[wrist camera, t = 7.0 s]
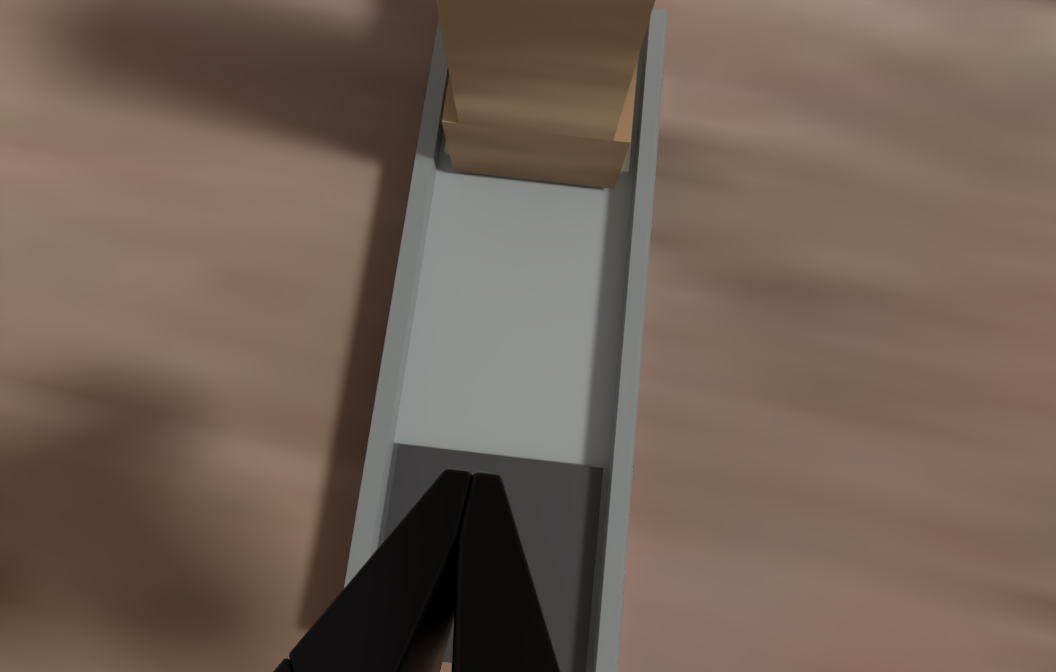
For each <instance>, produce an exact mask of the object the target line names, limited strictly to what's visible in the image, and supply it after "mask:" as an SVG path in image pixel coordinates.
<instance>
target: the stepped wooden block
mask: <svg viewBox="0 0 1056 672" xmlns="http://www.w3.org/2000/svg"><path fill="white" fill-rule="evenodd" d="M435 1H436V6H437V12H438V17H439V22H440V27H441V33H442V38H443V43H444V48H445V54H446V59H447V64H448V69H449V79H448V85H447V92H446V98H445V104H444V111H443V117H442V125H443V129H444V133H445V137H446V142H447V146H448V150H449V154H450V158H451V162H452V166H453V171H458V172H467V173H476V174H485V175H494V176H503V177H512V178H521V179H530V180H539V181H548V182H557V183H566V184H575V185H584V186H593V187H602V188H611V189H614V188H615V185H616V182H617V179H618V177H619V174H620V171H621V168H622V165H623V163H624V160H625V157H626V154H627V151H628V149H629V146H630V143H631V132H632V121H633V109H634V98H635V86H636V74H637V63H638V56H639V53H640V50H641V46H642V43H643V40H644V36H645V33H646V30H647V26H648V23H649V19H650V16H651V13H652V9H653V6H654V3H655V0H435Z"/></svg>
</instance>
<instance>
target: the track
mask: <svg viewBox="0 0 1056 672" xmlns="http://www.w3.org/2000/svg"><path fill="white" fill-rule="evenodd" d="M667 14H668V10H660V9H652V13H651V16H650V19H649V23H648V26H647V30H646V33H645V36H644V40H643V43H642V46H641V50H640V53H639V56H638V63H637V74H636V86H635V98H634V109H633V121H632V132H631V143H630V146H629V149H628V151H627V154H626V157H625V160H624V163H623V165H622V168H621V171H620V174H619V177H618V179H617V182H616V185H615V188H614V189H611V188H602V187H593V186H584V185H575V184H566V183H557V182H548V181H539V180H530V179H521V178H512V177H503V176H494V175H485V174H476V173H467V172H458V171H453V166H452V162H451V158H450V154H449V150H448V146H447V142H446V137H445V133H444V129H443V125H442V117H443V111H444V104H445V98H446V92H447V85H448V79H449V69H448V64H447V59H446V54H445V48H444V43H443V38H442V33H441V27H440V22H439V17H438V23H437V29H436V35H435V41H434V47H433V53H432V59H431V65H430V71H429V77H428V83H427V89H426V95H425V101H424V107H423V113H422V119H421V125H420V132H419V138H418V144H417V150H416V156H415V162H414V168H413V174H412V180H411V186H410V192H409V198H408V204H407V210H406V216H405V222H404V228H403V234H402V240H401V246H400V252H399V258H398V264H397V270H396V276H395V283H394V289H393V295H392V301H391V307H390V313H389V319H388V325H387V331H386V337H385V343H384V349H383V355H382V361H381V367H380V373H379V379H378V385H377V391H376V397H375V403H374V409H373V415H372V421H371V427H370V434H369V440H368V446H367V452H366V458H365V464H364V470H363V476H362V482H361V488H360V494H359V500H358V506H357V512H356V518H355V524H354V530H353V536H352V542H351V548H350V554H349V560H348V566H347V572H346V578H345V585H344V588H345V587H346V586H347V584H348V583H349V582H350V581H351V580H352V578H353V577H354V576H355V575H356V574H357V573H358V571H359V570H360V569H361V568H362V567H363V565H364V564H365V563H366V562H367V561H368V560H369V558H370V557H371V556H372V555H373V554H374V552H375V551H376V550H377V549H378V548H379V546H380V545H381V544H382V543H383V542H384V541H385V539H386V538H387V537H388V536H389V535H390V533H391V532H392V531H393V530H394V529H395V528H396V526H397V525H398V524H399V523H400V522H401V520H402V519H403V518H404V517H405V516H406V515H407V513H408V512H409V511H410V510H411V509H412V507H413V506H414V505H415V504H416V503H417V502H418V500H419V499H420V498H421V497H422V496H423V494H424V493H425V492H426V491H427V490H428V488H429V487H430V486H431V485H432V484H433V483H434V481H435V480H436V479H437V478H438V477H439V475H440V474H441V473H442V472H443V471H444V470H445V469H447V468H455V469H464V470H470V471H471V472H472V473H473V474H474V473H475V472H477V471H481V472H490V473H497V474H499V475H500V476H501V477H502V480H503V483H504V486H505V490H506V493H507V496H508V500H509V503H510V506H511V509H512V513H513V516H514V519H515V523H516V526H517V529H518V533H519V536H520V539H521V542H522V546H523V549H524V552H525V556H526V559H527V562H528V566H529V569H530V572H531V576H532V579H533V582H534V585H535V589H536V592H537V595H538V599H539V602H540V605H541V609H542V612H543V615H544V619H545V622H546V625H547V628H548V632H549V635H550V638H551V642H552V645H553V648H554V652H555V655H556V658H557V661H558V665H559V668H560V671H561V672H617V669H618V656H619V643H620V630H621V617H622V604H623V591H624V578H625V564H626V551H627V538H628V525H629V512H630V499H631V486H632V473H633V460H634V447H635V433H636V420H637V407H638V394H639V381H640V368H641V355H642V342H643V329H644V316H645V303H646V289H647V276H648V263H649V250H650V237H651V224H652V211H653V198H654V185H655V172H656V158H657V145H658V132H659V119H660V106H661V93H662V80H663V67H664V54H665V41H666V28H667ZM453 631H454V621H453V625H452V629H451V633H450V637H449V640H448V644H447V647H446V651H445V655H444V658H443V662H450V663H452V653H453Z"/></svg>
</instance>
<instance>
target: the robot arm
mask: <svg viewBox="0 0 1056 672" xmlns="http://www.w3.org/2000/svg"><path fill="white" fill-rule="evenodd" d="M453 621H454V631H453V653H452V672H561V671H560V668H559V665H558V661H557V658H556V655H555V652H554V648H553V645H552V642H551V638H550V635H549V632H548V628H547V625H546V622H545V619H544V615H543V612H542V609H541V605H540V602H539V599H538V595H537V592H536V589H535V585H534V582H533V579H532V576H531V572H530V569H529V566H528V562H527V559H526V556H525V552H524V549H523V546H522V542H521V539H520V536H519V533H518V529H517V526H516V523H515V519H514V516H513V513H512V509H511V506H510V503H509V500H508V496H507V493H506V490H505V486H504V483H503V480H502V477H501V476H500V475H499V474H497V473H490V472H481V471H477V472H475V473H474V474H473V473H472V472H471V471H470V470H464V469H455V468H447V469H445V470H444V471H443V472H442V473H441V474H440V475H439V477H438V478H437V479H436V480H435V481H434V483H433V484H432V485H431V486H430V487H429V488H428V490H427V491H426V492H425V493H424V494H423V496H422V497H421V498H420V499H419V500H418V502H417V503H416V504H415V505H414V506H413V507H412V509H411V510H410V511H409V512H408V513H407V515H406V516H405V517H404V518H403V519H402V520H401V522H400V523H399V524H398V525H397V526H396V528H395V529H394V530H393V531H392V532H391V533H390V535H389V536H388V537H387V538H386V539H385V541H384V542H383V543H382V544H381V545H380V546H379V548H378V549H377V550H376V551H375V552H374V554H373V555H372V556H371V557H370V558H369V560H368V561H367V562H366V563H365V564H364V565H363V567H362V568H361V569H360V570H359V571H358V573H357V574H356V575H355V576H354V577H353V578H352V580H351V581H350V582H349V583H348V584H347V586H346V587H345V588H344V589H343V590H342V591H341V593H340V594H339V595H338V596H337V597H336V599H335V600H334V601H333V602H332V603H331V604H330V606H329V607H328V608H327V609H326V610H325V612H324V613H323V614H322V615H321V616H320V618H319V619H318V620H317V621H316V622H315V623H314V625H313V626H312V627H311V628H310V629H309V631H308V632H307V633H306V634H305V635H304V636H303V638H302V639H301V640H300V641H299V642H298V644H297V645H296V646H295V647H294V648H293V649H292V651H291V652H290V654H289V658H290V660H289V659H288V658H286V659H284V660H283V661H282V662H281V663H280V664H279V666H278V667H277V668H276V669H275V670H274V672H440V669H441V665H442V662H443V658H444V655H445V651H446V647H447V644H448V640H449V637H450V633H451V629H452V625H453Z"/></svg>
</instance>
